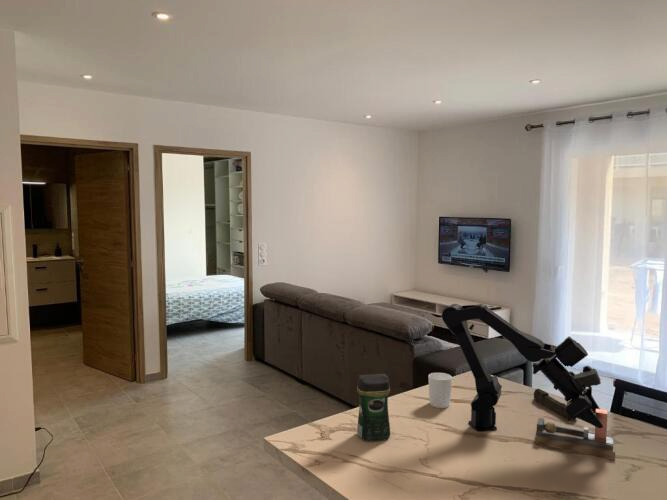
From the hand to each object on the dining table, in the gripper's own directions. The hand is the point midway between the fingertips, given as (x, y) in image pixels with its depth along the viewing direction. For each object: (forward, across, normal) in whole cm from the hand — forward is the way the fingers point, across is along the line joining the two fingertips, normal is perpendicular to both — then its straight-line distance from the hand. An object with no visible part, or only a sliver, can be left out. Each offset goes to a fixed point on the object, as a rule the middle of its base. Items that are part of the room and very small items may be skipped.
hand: (601, 421), depth 137 cm
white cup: (-29, +11, +40) cm, 51 cm away
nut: (-5, 0, +14) cm, 14 cm away
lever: (+4, 0, +5) cm, 6 cm away
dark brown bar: (-4, +24, +16) cm, 30 cm away
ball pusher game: (+1, 0, +11) cm, 11 cm away
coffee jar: (-36, -22, +48) cm, 64 cm away
